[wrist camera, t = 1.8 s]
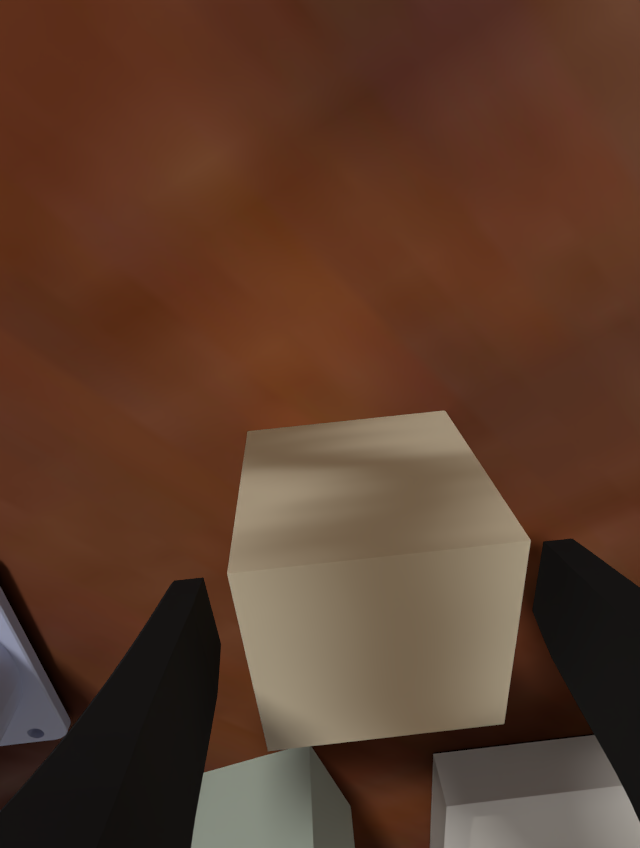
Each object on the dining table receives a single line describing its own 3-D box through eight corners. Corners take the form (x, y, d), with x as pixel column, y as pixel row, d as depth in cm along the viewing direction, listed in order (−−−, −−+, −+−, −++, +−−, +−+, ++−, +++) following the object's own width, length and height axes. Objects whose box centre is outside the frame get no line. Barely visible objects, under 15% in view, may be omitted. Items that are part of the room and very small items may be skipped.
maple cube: (273, 576, 15) (268, 751, 10) (247, 429, 12) (227, 573, 8) (438, 558, 15) (504, 724, 10) (444, 409, 13) (530, 540, 8)
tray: (428, 881, 24) (438, 931, 23) (433, 754, 19) (446, 806, 18) (647, 855, 25) (672, 902, 23) (708, 721, 20) (746, 770, 18)
